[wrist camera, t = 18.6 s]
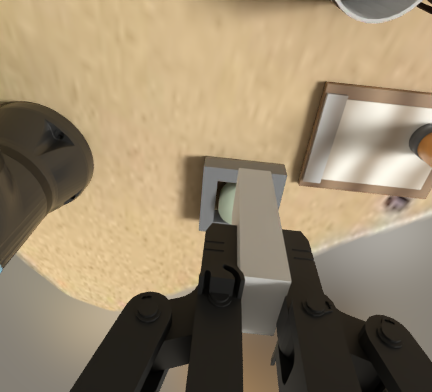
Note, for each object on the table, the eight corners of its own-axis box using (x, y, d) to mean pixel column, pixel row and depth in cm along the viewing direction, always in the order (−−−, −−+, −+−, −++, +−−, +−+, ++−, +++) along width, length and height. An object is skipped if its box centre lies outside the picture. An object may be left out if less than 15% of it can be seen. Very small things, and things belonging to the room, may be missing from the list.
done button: (217, 211, 47) (216, 223, 45) (221, 177, 44) (220, 188, 41) (256, 215, 47) (257, 228, 45) (263, 181, 44) (265, 193, 42)
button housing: (200, 218, 50) (198, 230, 47) (205, 156, 43) (203, 166, 41) (269, 225, 50) (271, 238, 47) (284, 164, 43) (287, 175, 41)
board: (297, 181, 45) (299, 187, 44) (325, 81, 37) (328, 84, 36) (421, 195, 45) (427, 201, 44) (475, 97, 37) (483, 101, 36)
